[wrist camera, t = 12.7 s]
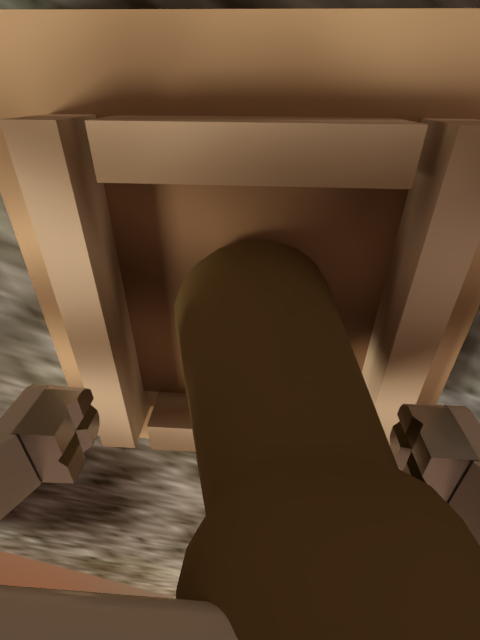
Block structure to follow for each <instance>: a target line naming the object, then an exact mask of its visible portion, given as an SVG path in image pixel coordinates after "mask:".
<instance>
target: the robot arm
mask: <svg viewBox="0 0 480 640" xmlns="http://www.w3.org/2000/svg"><path fill="white" fill-rule="evenodd" d="M93 399H94V397H93V395H92V392H91V389H87V388H78V387H65V386H52V385H51V386H47V385H34V384H32V385H31V386H29V387H27V388H26V389H25V390H24V391H23V392H22V394H21V395H20V396H19V397H18V398H17V400H16V401H15V402H14V403H13V405H12V406H11V407H10V408H9V409H8V411H7V412H6V413H5V414H4V416H3V417H2V418H1V419H0V520H1V519H2V518H3V517H5V516H6V515H7V514H8V513H9V512H10V511H11V510H13V509H14V508H15V507H16V506H17V505H18V504H19V503H21V502H22V501H23V500H24V499H25V498H26V497H27V496H28V495H30V494H31V493H32V492H33V491H34V490H35V489H36V488H38V487H39V486H40V485H41V482H47V483H75V481H76V479H77V477H78V475H79V473H80V471H81V469H82V467H83V465H84V463H85V461H86V459H85V456H84V452H85V451H86V450H87V449H89V448H90V447H91V446H93V444H94V442H95V440H96V438H97V435H98V431H99V426H100V421H99V414H98V410H96V409H95V408H94V407H93V406H92V405H91V403H92V401H93ZM397 415H398V418H399V420H400V421H399V422H398V423H397V424H395V425H394V426H393V427H392V430H391V433H390V448H391V450H392V453H393V455H394V458H395V461H396V463H397V466H398V467H399V468H400V469H401V470H402V471H404V472H405V473H407V474H409V475H411V476H413V477H415V478H417V479H419V480H420V481H422V482H424V483H426V484H428V485H430V486H431V487H432V488H433V489H434V490H435V491H436V492H437V493H438V494H439V495H440V496H441V497H442V498H443V499H444V500H445V501H446V502H447V503H448V504H449V505H450V506H451V507H452V508H453V509H454V510H455V511H456V512H457V514H458V515H459V516H460V517H461V518H462V519H463V521H464V522H465V524H466V525H467V527H468V528H469V530H470V531H471V533H472V534H473V536H474V537H475V539H476V541H477V542H478V544H479V545H480V424H479V422H478V421H477V419H476V418H475V416H474V415H473V413H472V412H471V410H470V409H469V408H467V407H466V406H447V405H444V406H442V405H422V404H402V405H401V406H400V408H399V410H398V413H397ZM0 640H238V638H237V637H236V635H235V633H234V631H233V628H232V626H231V624H230V622H229V620H228V619H227V617H226V616H225V614H224V613H223V612H222V611H221V610H220V609H219V608H218V607H217V606H215V605H214V604H212V603H210V602H207V601H197V600H184V599H171V598H159V597H146V596H134V595H121V594H109V593H96V592H82V591H70V590H57V589H45V588H33V587H20V586H7V585H0Z"/></svg>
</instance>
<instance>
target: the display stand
mask: <svg viewBox="0 0 480 640" xmlns="http://www.w3.org/2000/svg"><path fill="white" fill-rule="evenodd" d="M0 192H1V195H2V198H3V201H4V203H5V206H6V209H7V212H8V215H9V218H10V221H11V223H12V226H13V229H14V232H15V235H16V238H17V241H18V243H19V246H20V249H21V252H22V255H23V258H24V261H25V263H26V266H27V269H28V272H29V275H30V278H31V281H32V283H33V286H34V289H35V292H36V295H37V298H38V301H39V303H40V306H41V309H42V312H43V315H44V318H45V321H46V323H47V326H48V329H49V332H50V335H51V338H52V341H53V343H54V346H55V349H56V352H57V355H58V358H59V361H60V363H61V366H62V369H63V372H64V375H65V378H66V381H67V383H68V386H69V387H78V388H87V389H91V392H92V395H93V397H94V399H93V401H92V403H91V405H92V406H93V407H94V408H95V409H96V410H98V414H99V421H100V426H99V431H98V435H99V436H100V439H101V442H102V445H103V446H110V447H127V448H135V447H136V444H137V441H138V439H139V438H149V440H150V445H151V449H162V450H179V451H196V450H195V444H194V438H193V432H192V426H191V419H190V413H189V407H188V401H187V395H186V388H185V382H184V376H183V370H182V364H181V357H180V351H179V345H178V339H177V333H176V327H175V309H174V304H175V301H176V298H177V295H178V292H179V289H180V286H181V283H182V282H183V280H184V279H185V278H186V277H187V275H188V274H189V273H190V271H191V270H192V269H193V268H194V266H195V265H196V264H197V263H198V262H199V261H201V260H202V259H204V258H205V257H207V256H208V255H210V254H211V253H213V252H214V251H216V250H217V249H219V248H222V247H225V246H228V245H232V244H235V243H238V242H242V241H245V240H271V241H276V242H279V243H282V244H285V245H288V246H291V247H294V248H297V249H298V250H300V251H301V252H302V253H303V254H305V255H306V256H307V257H308V258H310V259H311V260H312V261H313V262H315V263H316V264H317V266H318V268H319V270H320V271H321V273H322V275H323V277H324V278H325V280H326V282H327V284H328V287H329V289H330V292H331V294H332V297H333V300H334V302H335V305H336V307H337V310H338V313H339V315H340V318H341V320H342V323H343V326H344V328H345V331H346V333H347V336H348V339H349V341H350V344H351V346H352V349H353V352H354V354H355V357H356V359H357V362H358V365H359V367H360V370H361V372H362V375H363V377H364V380H365V383H366V385H367V388H368V390H369V393H370V396H371V398H372V401H373V403H374V406H375V409H376V411H377V414H378V416H379V419H380V422H381V424H382V427H383V429H384V432H385V435H386V437H387V440H388V442H389V445H390V433H391V430H392V427H393V426H394V425H395V424H397V423H398V422H399V421H400V420H399V418H398V415H397V413H398V410H399V408H400V406H401V405H402V404H422V405H436V404H437V402H438V400H439V397H440V395H441V393H442V391H443V388H444V386H445V384H446V381H447V379H448V377H449V375H450V372H451V370H452V368H453V365H454V363H455V361H456V359H457V356H458V354H459V352H460V349H461V347H462V345H463V343H464V340H465V338H466V336H467V333H468V331H469V329H470V327H471V324H472V322H473V320H474V317H475V315H476V313H477V311H478V308H479V306H480V8H370V9H59V10H0Z"/></svg>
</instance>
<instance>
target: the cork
mask: <svg viewBox="0 0 480 640" xmlns="http://www.w3.org/2000/svg"><path fill="white" fill-rule="evenodd" d="M174 309H175V327H176V333H177V339H178V345H179V351H180V357H181V364H182V370H183V376H184V382H185V388H186V395H187V401H188V407H189V413H190V419H191V426H192V432H193V438H194V444H195V450H196V457H197V463H198V469H199V475H200V481H201V488H202V494H203V500H204V506H205V512H206V516H205V518H204V520H203V521H202V523H201V524H200V526H199V528H198V529H197V531H196V533H195V535H194V536H193V538H192V540H191V542H190V543H189V545H188V547H187V549H186V553H185V557H184V561H183V565H182V569H181V573H180V577H179V581H178V585H177V590H176V599H184V600H197V601H207V602H210V603H212V604H214V605H215V606H217V607H218V608H219V609H220V610H221V611H222V612H223V613H224V614H225V616H226V617H227V619H228V620H229V622H230V624H231V626H232V628H233V631H234V633H235V635H236V637H237V638H238V640H480V545H479V544H478V542H477V541H476V539H475V537H474V536H473V534H472V533H471V531H470V530H469V528H468V527H467V525H466V524H465V522H464V521H463V519H462V518H461V517H460V516H459V515H458V514H457V512H456V511H455V510H454V509H453V508H452V507H451V506H450V505H449V504H448V503H447V502H446V501H445V500H444V499H443V498H442V497H441V496H440V495H439V494H438V493H437V492H436V491H435V490H434V489H433V488H432V487H431V486H430V485H428V484H426V483H424V482H422V481H420V480H419V479H417V478H415V477H413V476H411V475H409V474H407V473H405V472H404V471H402V470H400V469H399V468H398V466H397V463H396V461H395V458H394V455H393V453H392V450H391V448H390V445H389V442H388V440H387V437H386V435H385V432H384V429H383V427H382V424H381V422H380V419H379V416H378V414H377V411H376V409H375V406H374V403H373V401H372V398H371V396H370V393H369V390H368V388H367V385H366V383H365V380H364V377H363V375H362V372H361V370H360V367H359V365H358V362H357V359H356V357H355V354H354V352H353V349H352V346H351V344H350V341H349V339H348V336H347V333H346V331H345V328H344V326H343V323H342V320H341V318H340V315H339V313H338V310H337V307H336V305H335V302H334V300H333V297H332V294H331V292H330V289H329V287H328V284H327V282H326V280H325V278H324V277H323V275H322V273H321V271H320V270H319V268H318V266H317V264H316V263H315V262H313V261H312V260H311V259H310V258H308V257H307V256H306V255H305V254H303V253H302V252H301V251H300V250H298V249H297V248H294V247H291V246H288V245H285V244H282V243H279V242H276V241H271V240H245V241H242V242H238V243H235V244H232V245H228V246H225V247H222V248H219V249H217V250H216V251H214V252H213V253H211V254H210V255H208V256H207V257H205V258H204V259H202V260H201V261H199V262H198V263H197V264H196V265H195V266H194V268H193V269H192V270H191V271H190V273H189V274H188V275H187V277H186V278H185V279H184V280H183V282H182V283H181V286H180V289H179V292H178V295H177V298H176V301H175V304H174Z"/></svg>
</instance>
